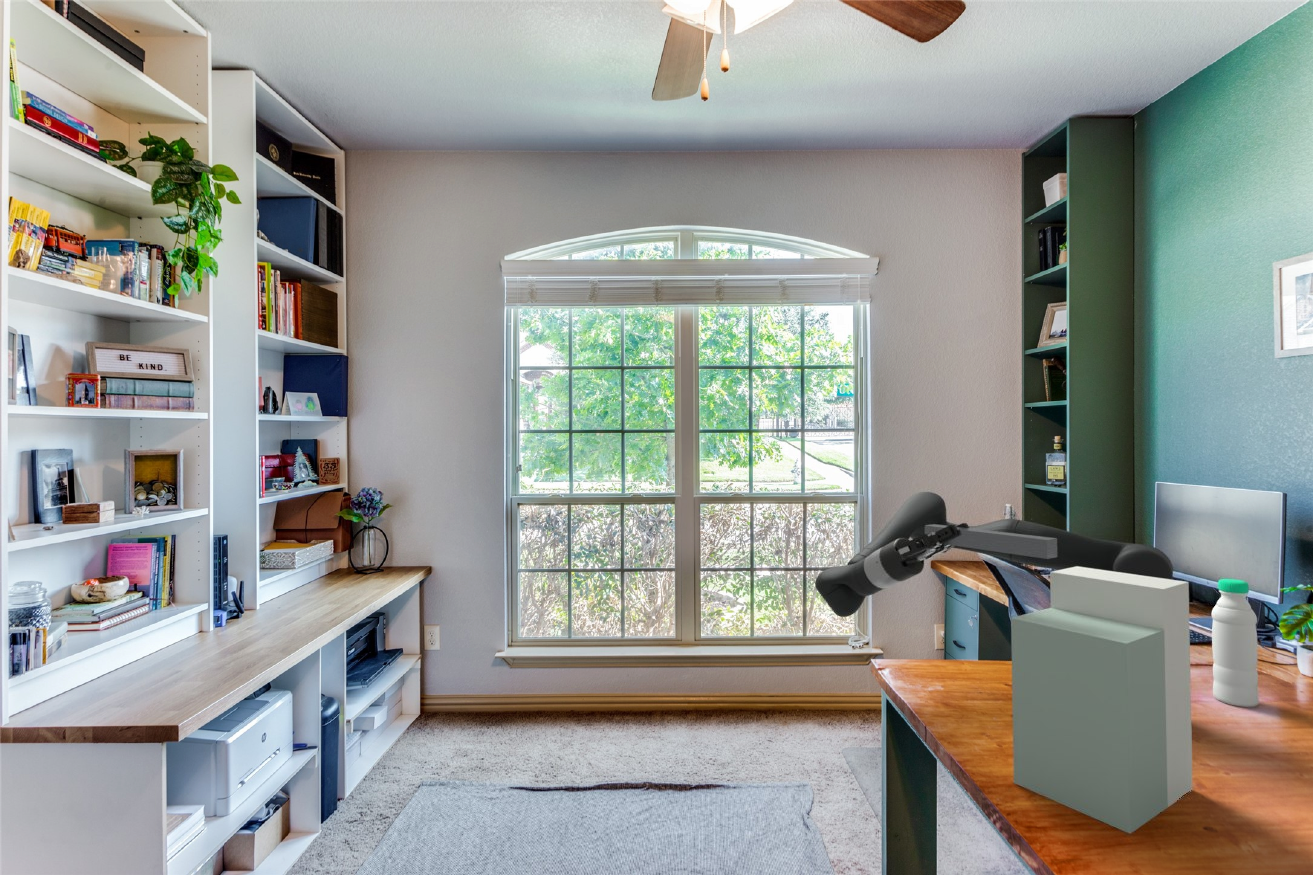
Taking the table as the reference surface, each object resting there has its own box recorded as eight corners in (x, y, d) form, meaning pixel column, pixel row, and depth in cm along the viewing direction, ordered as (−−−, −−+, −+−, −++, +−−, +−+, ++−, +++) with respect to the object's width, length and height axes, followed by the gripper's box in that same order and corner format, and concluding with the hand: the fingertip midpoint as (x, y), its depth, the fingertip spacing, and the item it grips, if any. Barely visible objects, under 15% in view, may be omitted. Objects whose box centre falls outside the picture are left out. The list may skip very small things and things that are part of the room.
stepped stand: (1013, 782, 102) (1010, 580, 103) (1080, 749, 113) (1076, 566, 114) (1130, 833, 89) (1125, 599, 89) (1192, 789, 100) (1188, 581, 100)
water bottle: (1204, 695, 137) (1201, 577, 137) (1234, 694, 137) (1232, 576, 138) (1236, 708, 130) (1234, 584, 130) (1268, 707, 130) (1266, 583, 131)
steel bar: (924, 541, 121) (924, 525, 121) (934, 540, 122) (934, 524, 122) (1047, 558, 102) (1047, 539, 102) (1057, 557, 104) (1057, 538, 104)
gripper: (861, 549, 127) (928, 511, 114) (907, 543, 134) (975, 507, 121) (877, 586, 123) (948, 551, 111) (923, 577, 131) (994, 544, 118)
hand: (961, 528), depth 116 cm, fingers closed on steel bar, 3 cm apart
